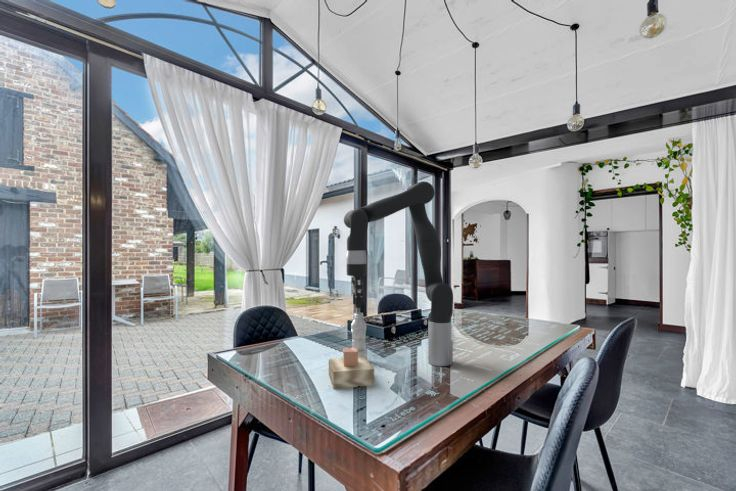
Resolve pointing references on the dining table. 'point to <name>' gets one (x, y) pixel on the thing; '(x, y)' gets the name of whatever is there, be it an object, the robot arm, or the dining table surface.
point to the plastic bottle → (359, 334)
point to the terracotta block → (350, 356)
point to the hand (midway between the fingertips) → (357, 306)
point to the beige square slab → (350, 373)
